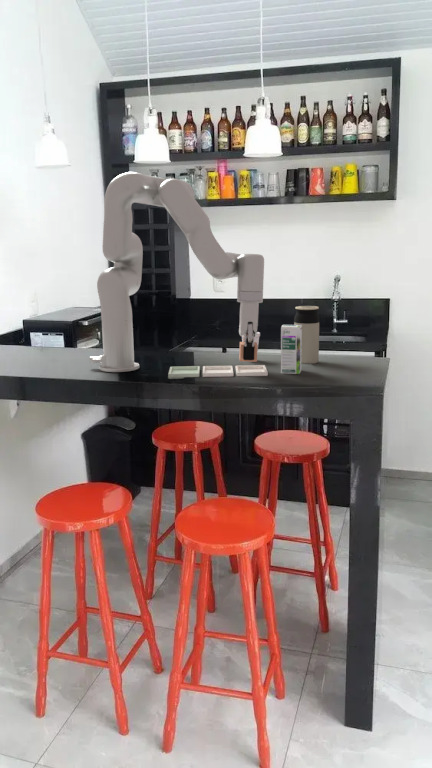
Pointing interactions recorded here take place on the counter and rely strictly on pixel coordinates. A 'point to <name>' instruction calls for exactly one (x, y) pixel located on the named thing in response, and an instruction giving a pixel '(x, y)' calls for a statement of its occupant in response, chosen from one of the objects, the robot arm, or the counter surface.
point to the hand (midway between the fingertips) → (248, 357)
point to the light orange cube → (242, 352)
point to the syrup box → (291, 349)
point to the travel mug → (308, 332)
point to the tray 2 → (217, 371)
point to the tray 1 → (183, 372)
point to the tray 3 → (251, 370)
